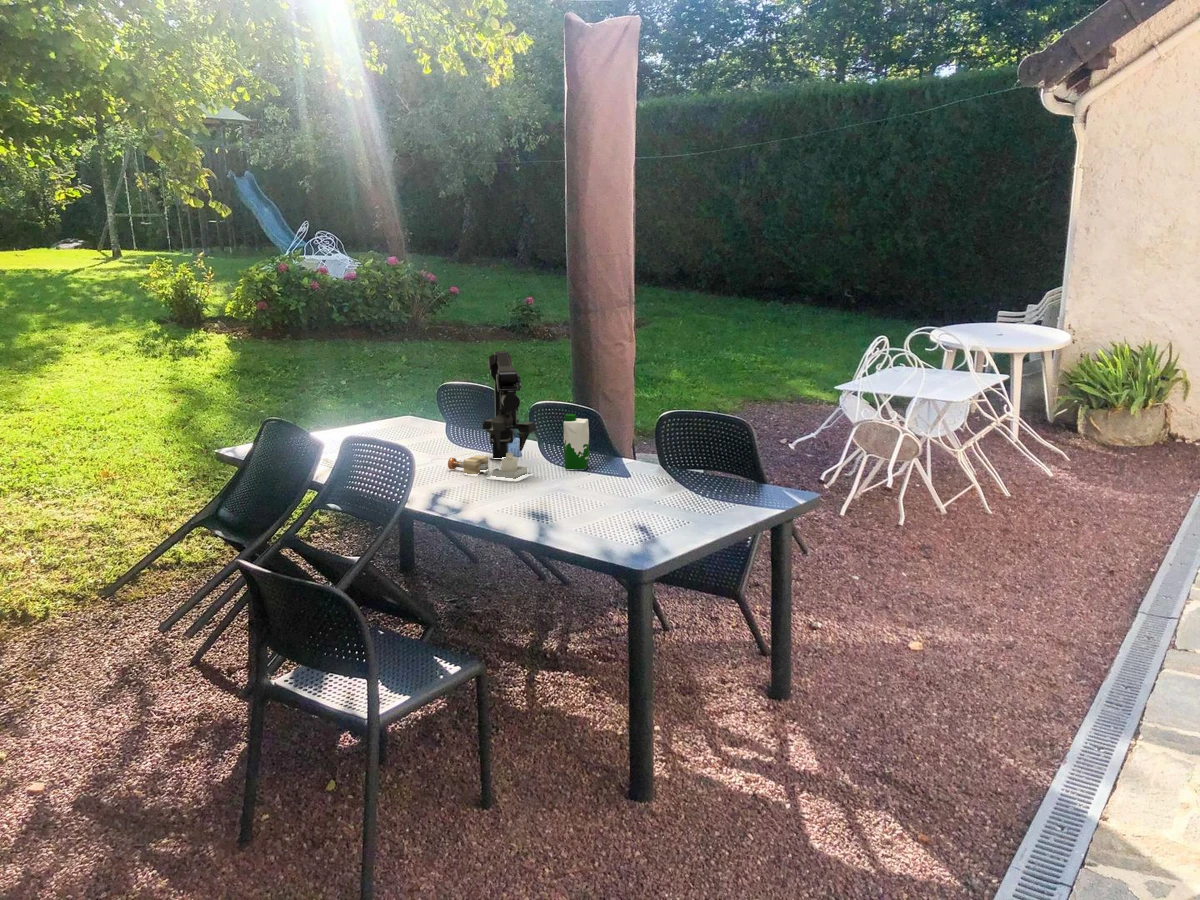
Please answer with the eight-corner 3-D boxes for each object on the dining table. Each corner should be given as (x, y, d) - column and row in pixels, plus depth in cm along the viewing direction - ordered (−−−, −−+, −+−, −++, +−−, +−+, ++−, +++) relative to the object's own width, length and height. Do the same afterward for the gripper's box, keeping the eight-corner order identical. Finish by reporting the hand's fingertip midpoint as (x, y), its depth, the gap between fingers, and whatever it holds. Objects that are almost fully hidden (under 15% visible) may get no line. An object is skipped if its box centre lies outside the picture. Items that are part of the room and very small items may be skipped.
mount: (476, 469, 347) (476, 455, 346) (488, 471, 345) (488, 456, 344) (463, 475, 340) (463, 460, 338) (475, 476, 338) (475, 461, 336)
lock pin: (454, 467, 349) (454, 456, 348) (488, 471, 343) (488, 460, 342) (448, 470, 345) (447, 459, 344) (482, 474, 339) (482, 462, 338)
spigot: (507, 473, 339) (507, 451, 337) (517, 474, 338) (517, 452, 336) (502, 475, 336) (501, 453, 334) (512, 477, 334) (511, 454, 332)
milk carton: (566, 465, 354) (566, 412, 349) (590, 466, 352) (590, 412, 348) (562, 470, 345) (561, 416, 341) (586, 471, 344) (586, 417, 339)
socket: (504, 471, 344) (503, 463, 344) (533, 474, 339) (532, 466, 339) (486, 479, 334) (486, 470, 333) (516, 482, 329) (516, 474, 328)
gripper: (473, 407, 328) (474, 452, 331) (520, 411, 320) (521, 456, 323) (489, 403, 338) (491, 446, 341) (536, 406, 330) (536, 450, 333)
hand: (509, 449), depth 334 cm, fingers open, 9 cm apart
